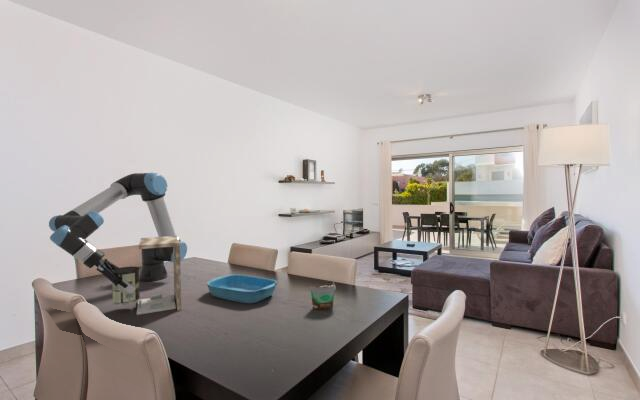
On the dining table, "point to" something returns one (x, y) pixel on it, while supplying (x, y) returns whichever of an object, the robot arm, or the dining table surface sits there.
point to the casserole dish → (242, 288)
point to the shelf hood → (173, 242)
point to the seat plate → (156, 304)
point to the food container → (323, 296)
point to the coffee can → (121, 294)
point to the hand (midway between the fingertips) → (134, 287)
